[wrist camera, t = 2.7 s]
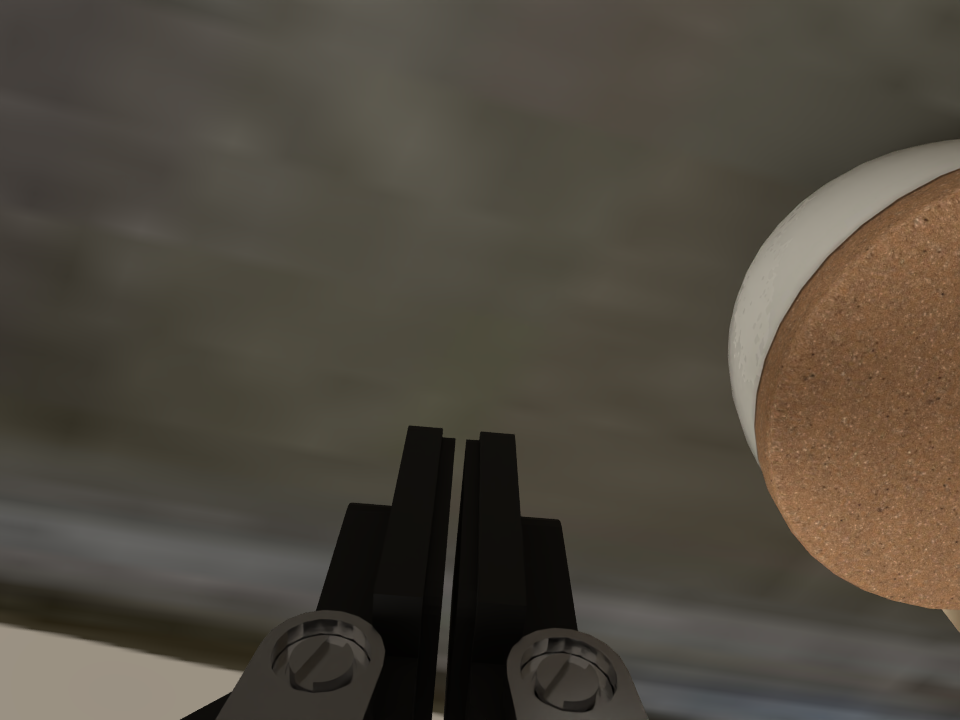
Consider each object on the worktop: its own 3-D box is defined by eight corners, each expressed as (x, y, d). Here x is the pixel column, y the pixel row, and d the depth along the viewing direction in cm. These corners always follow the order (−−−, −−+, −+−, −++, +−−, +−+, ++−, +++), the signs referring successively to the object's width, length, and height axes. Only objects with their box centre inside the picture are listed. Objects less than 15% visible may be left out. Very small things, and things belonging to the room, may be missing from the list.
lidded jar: (647, 423, 25) (727, 634, 16) (742, 78, 20) (919, 117, 12) (963, 468, 25) (1203, 697, 17) (1120, 140, 21) (1556, 220, 12)
